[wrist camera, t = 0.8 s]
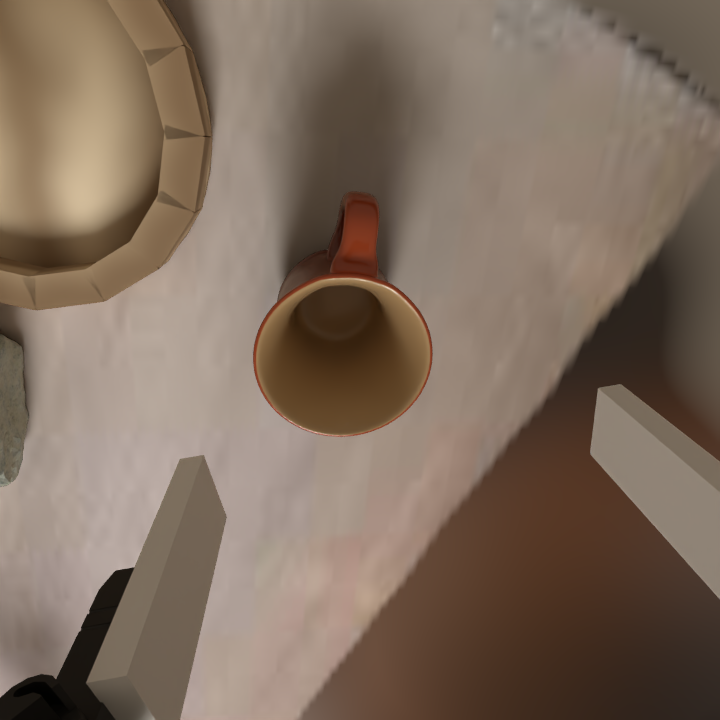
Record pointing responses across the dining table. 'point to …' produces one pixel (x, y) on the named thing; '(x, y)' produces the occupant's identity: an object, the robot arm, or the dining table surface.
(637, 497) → the robot arm
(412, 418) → the dining table surface
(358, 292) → the mug
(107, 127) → the round tray
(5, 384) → the decorative stone
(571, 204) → the dining table surface
